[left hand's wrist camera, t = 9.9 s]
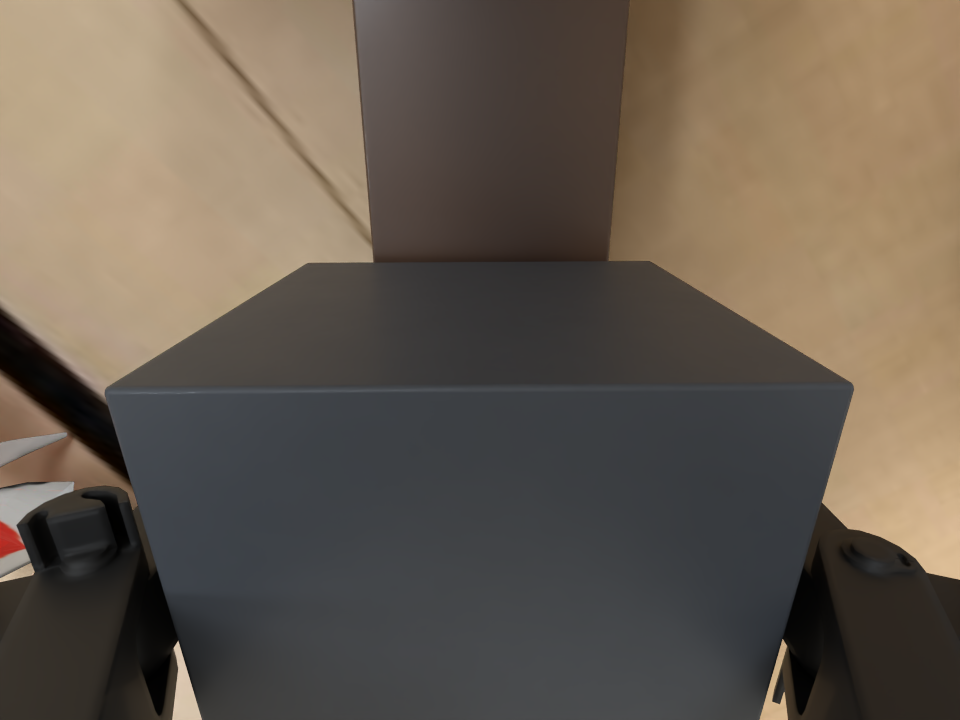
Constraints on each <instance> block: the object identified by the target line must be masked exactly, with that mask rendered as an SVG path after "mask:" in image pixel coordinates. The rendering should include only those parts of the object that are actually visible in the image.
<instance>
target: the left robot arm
mask: <svg viewBox="0 0 960 720" xmlns="http://www.w3.org/2000/svg"><path fill="white" fill-rule="evenodd" d="M16 526H17V528H18V531H19V533H20V536H21V538H22V541H23V543H24V546H25V548H26V551H27V553H28V556H29V558H30V561H31V563H32V566H33V568H34V571H35V573H34V575H32V576H28V577H23V578H18V579H14V580H9V581H4V582H0V720H172V716H173V707H174V699H175V690H176V682H177V673H178V666H177V659H176V655H175V652H174V649H173V648H174V646H175V645H176V643H177V642H178V637H177V634H176V631H175V627H174V624H173V621H172V617H171V614H170V611H169V607H168V604H167V601H166V597H165V594H164V591H163V587H162V584H161V581H160V577H159V574H158V571H157V567H156V564H155V561H154V557H153V554H152V551H151V547H150V544H149V541H148V537H147V534H146V531H145V527H144V524H143V521H142V517H141V514H140V511H139V507H138V506H137V507H136V508H135V509H134V510H133V511H132V507H131V504H130V501H129V497H128V494H127V492H125V491H124V490H122V489H121V488H119V487H111V486H97V487H88V488H83V489H80V490H76V491H72V492H69V493H65V494H63V495H60V496H58V497H56V498H53V499H51V500H49V501H47V502H44V503H43V504H41V505H40V506H38V507H36V508H35V509H33V510H32V511H30V512H29V513H27V514H26V515H25V516H24V517H23V518H22V520H21V521H20V522H19V523H18V524H17V525H16ZM783 640H784V641H785V643H786V645H787V649H786V652H785V655H784V659H783V662H782V665H781V669H780V672H779V676H778V679H777V682H776V686H775V689H774V694H773V700H772V702H775V703H778V704H780V702H781V699H782V696H783V693H784V692H785V697H786V705H787V714H788V720H960V580H958V579H953V578H948V577H943V576H939V575H934V574H929V573H926V572H925V570H924V569H923V568H922V566H921V565H920V564H919V563H918V561H917V560H916V559H915V558H914V557H912V556H911V555H910V554H908V553H907V552H906V551H904V550H903V549H902V548H900V547H899V546H897V545H895V544H893V543H891V542H889V541H887V540H885V539H883V538H881V537H878V536H875V535H872V534H869V533H866V532H863V531H859V530H851V529H847V528H846V527H845V526H844V525H843V524H842V523H841V522H840V520H839V519H838V518H837V517H836V516H835V515H834V514H833V513H832V512H831V511H830V510H829V509H828V508H827V507H826V506H825V505H824V504H823V503H821V506H820V510H819V513H818V517H817V520H816V524H815V527H814V531H813V534H812V538H811V541H810V545H809V548H808V552H807V555H806V559H805V562H804V566H803V569H802V573H801V576H800V579H799V583H798V586H797V590H796V593H795V597H794V600H793V604H792V607H791V611H790V614H789V618H788V621H787V625H786V628H785V632H784V635H783Z"/></svg>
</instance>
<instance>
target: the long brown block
mask: <svg viewBox="0 0 960 720" xmlns="http://www.w3.org/2000/svg"><path fill="white" fill-rule="evenodd" d="M629 3H630V0H352V4H353V16H354V29H355V41H356V53H357V65H358V77H359V90H360V102H361V114H362V126H363V139H364V151H365V163H366V175H367V187H368V200H369V212H370V224H371V236H372V249H373V261H374V263H400V262H577V261H608V258H609V246H610V234H611V222H612V210H613V198H614V185H615V173H616V161H617V149H618V137H619V125H620V112H621V100H622V88H623V76H624V64H625V52H626V40H627V27H628V15H629Z"/></svg>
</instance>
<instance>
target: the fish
mask: <svg viewBox="0 0 960 720" xmlns="http://www.w3.org/2000/svg"><path fill="white" fill-rule="evenodd" d="M66 436H67V433H66V432H64V433H57V434H51V435H44V436H36V437H29V438H22V439H16V440H10V441H5V442H1V443H0V467H1V466H3V465H5V464H7V463H9V462H11V461H14V460H16V459H18V458H20V457H22V456H24V455H26V454H28V453H31V452H33V451H35V450H37V449H39V448H42V447H44V446H46V445H49V444H51V443H53V442H56V441H58V440H60V439H63V438H65V437H66ZM73 489H74V482H27V483H22V484H17V485H12V486H8V487H3V488H0V578H1V577H3V576H5V575H7V574H9V573H11V572H13V571H15V570H17V569H19V568H21V567H23V566H25V565H27V564H29V563H31V561H30V558H29V556H28V553H27V551H26V548H25V546H24V543H23V541H22V538H21V536H20V533H19V531H18V528H17V526H16V525H17V524H18V523H19V522H20V521H21V520H22V518H23V517H24V516H25V515H26V514H27V513H29V512H30V511H32V510H33V509H35V508H36V507H38V506H40V505H41V504H43V503H44V502H47V501H49V500H51V499H53V498H56V497H58V496H60V495H63V494H65V493H69V492H72V491H73Z"/></svg>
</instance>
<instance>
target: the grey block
mask: <svg viewBox="0 0 960 720" xmlns="http://www.w3.org/2000/svg"><path fill="white" fill-rule="evenodd" d="M853 391H854V387H853V384H852V383H851V382H849V381H847V380H846V379H844V378H843V377H841V376H839V375H838V374H836V373H834V372H833V371H831V370H829V369H828V368H826V367H824V366H823V365H821V364H819V363H818V362H816V361H814V360H813V359H811V358H809V357H808V356H806V355H804V354H803V353H801V352H799V351H798V350H796V349H794V348H793V347H791V346H789V345H788V344H786V343H785V342H783V341H781V340H780V339H778V338H776V337H775V336H773V335H771V334H770V333H768V332H766V331H765V330H763V329H761V328H760V327H758V326H756V325H755V324H753V323H751V322H750V321H748V320H746V319H745V318H743V317H741V316H740V315H738V314H736V313H735V312H733V311H732V310H730V309H728V308H727V307H725V306H723V305H722V304H720V303H718V302H717V301H715V300H713V299H712V298H710V297H708V296H707V295H705V294H703V293H702V292H700V291H698V290H697V289H695V288H693V287H692V286H690V285H688V284H687V283H685V282H683V281H682V280H680V279H679V278H677V277H675V276H674V275H672V274H670V273H669V272H667V271H665V270H664V269H662V268H660V267H659V266H657V265H655V264H654V263H652V262H650V261H577V262H400V263H307V264H305V265H304V266H302V267H300V268H299V269H297V270H296V271H294V272H292V273H291V274H289V275H288V276H286V277H284V278H283V279H281V280H280V281H278V282H276V283H275V284H273V285H271V286H270V287H268V288H267V289H265V290H263V291H262V292H260V293H259V294H257V295H255V296H254V297H252V298H250V299H249V300H247V301H246V302H244V303H242V304H241V305H239V306H238V307H236V308H234V309H233V310H231V311H229V312H228V313H226V314H225V315H223V316H221V317H220V318H218V319H217V320H215V321H213V322H212V323H210V324H208V325H207V326H205V327H204V328H202V329H200V330H199V331H197V332H196V333H194V334H192V335H191V336H189V337H187V338H186V339H184V340H183V341H181V342H179V343H178V344H176V345H175V346H173V347H171V348H170V349H168V350H166V351H165V352H163V353H162V354H160V355H158V356H157V357H155V358H154V359H152V360H150V361H149V362H147V363H145V364H144V365H142V366H141V367H139V368H137V369H136V370H134V371H133V372H131V373H129V374H128V375H126V376H124V377H123V378H121V379H120V380H118V381H116V382H115V383H113V384H112V385H110V386H108V387H107V388H106V389H105V397H106V401H107V404H108V407H109V411H110V414H111V417H112V421H113V424H114V427H115V431H116V434H117V437H118V441H119V444H120V447H121V451H122V454H123V457H124V461H125V464H126V467H127V471H128V474H129V477H130V481H131V484H132V487H133V491H134V494H135V497H136V501H137V504H138V507H139V511H140V514H141V517H142V521H143V524H144V527H145V531H146V534H147V537H148V541H149V544H150V547H151V551H152V554H153V557H154V561H155V564H156V567H157V571H158V574H159V577H160V581H161V584H162V587H163V591H164V594H165V597H166V601H167V604H168V607H169V611H170V614H171V617H172V621H173V624H174V627H175V631H176V634H177V637H178V641H179V644H180V647H181V651H182V654H183V657H184V661H185V664H186V667H187V671H188V674H189V677H190V681H191V684H192V687H193V691H194V694H195V697H196V701H197V704H198V707H199V711H200V714H201V717H202V720H759V719H760V716H761V712H762V709H763V705H764V702H765V698H766V695H767V691H768V688H769V684H770V681H771V677H772V674H773V670H774V667H775V663H776V660H777V656H778V653H779V649H780V646H781V642H782V639H783V635H784V632H785V628H786V625H787V621H788V618H789V614H790V611H791V607H792V604H793V600H794V597H795V593H796V590H797V586H798V583H799V579H800V576H801V573H802V569H803V566H804V562H805V559H806V555H807V552H808V548H809V545H810V541H811V538H812V534H813V531H814V527H815V524H816V520H817V517H818V513H819V510H820V506H821V503H822V499H823V496H824V492H825V489H826V485H827V482H828V478H829V475H830V471H831V468H832V464H833V461H834V457H835V454H836V450H837V447H838V443H839V440H840V436H841V433H842V429H843V426H844V422H845V419H846V415H847V412H848V409H849V405H850V402H851V398H852V395H853Z"/></svg>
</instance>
